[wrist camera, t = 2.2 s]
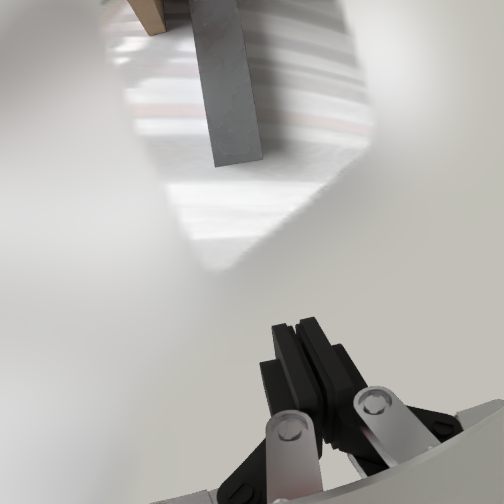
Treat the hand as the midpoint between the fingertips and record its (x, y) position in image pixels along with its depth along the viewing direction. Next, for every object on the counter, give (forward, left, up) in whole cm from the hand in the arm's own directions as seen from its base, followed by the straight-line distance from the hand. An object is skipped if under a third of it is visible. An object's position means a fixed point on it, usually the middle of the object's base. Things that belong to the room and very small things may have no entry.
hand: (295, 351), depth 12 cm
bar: (-13, 0, -17) cm, 22 cm away
